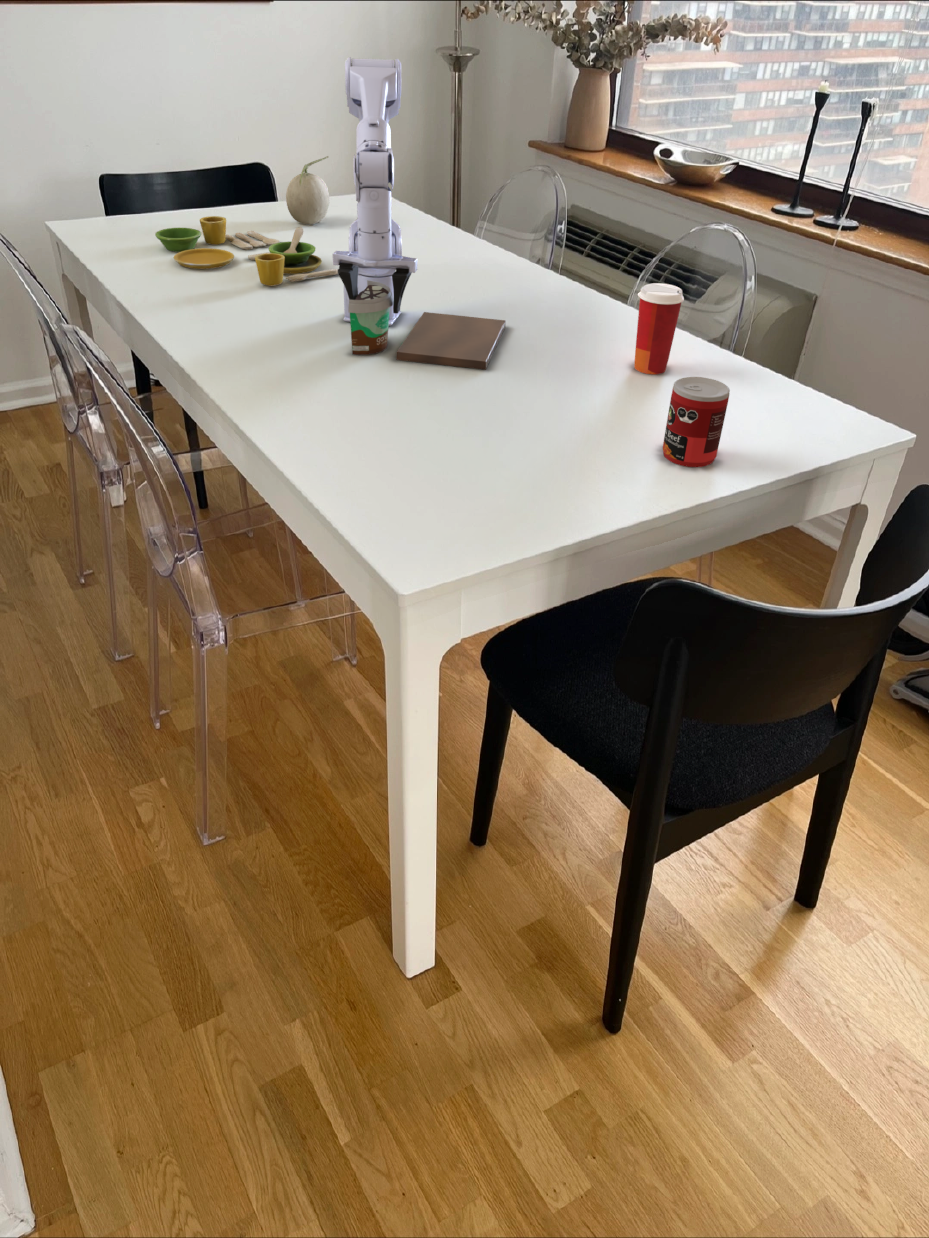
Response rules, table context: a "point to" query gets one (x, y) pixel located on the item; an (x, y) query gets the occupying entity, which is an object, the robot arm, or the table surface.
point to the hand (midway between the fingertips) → (375, 309)
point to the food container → (370, 319)
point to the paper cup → (656, 326)
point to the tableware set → (269, 264)
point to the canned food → (695, 421)
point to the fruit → (307, 197)
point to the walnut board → (452, 340)
